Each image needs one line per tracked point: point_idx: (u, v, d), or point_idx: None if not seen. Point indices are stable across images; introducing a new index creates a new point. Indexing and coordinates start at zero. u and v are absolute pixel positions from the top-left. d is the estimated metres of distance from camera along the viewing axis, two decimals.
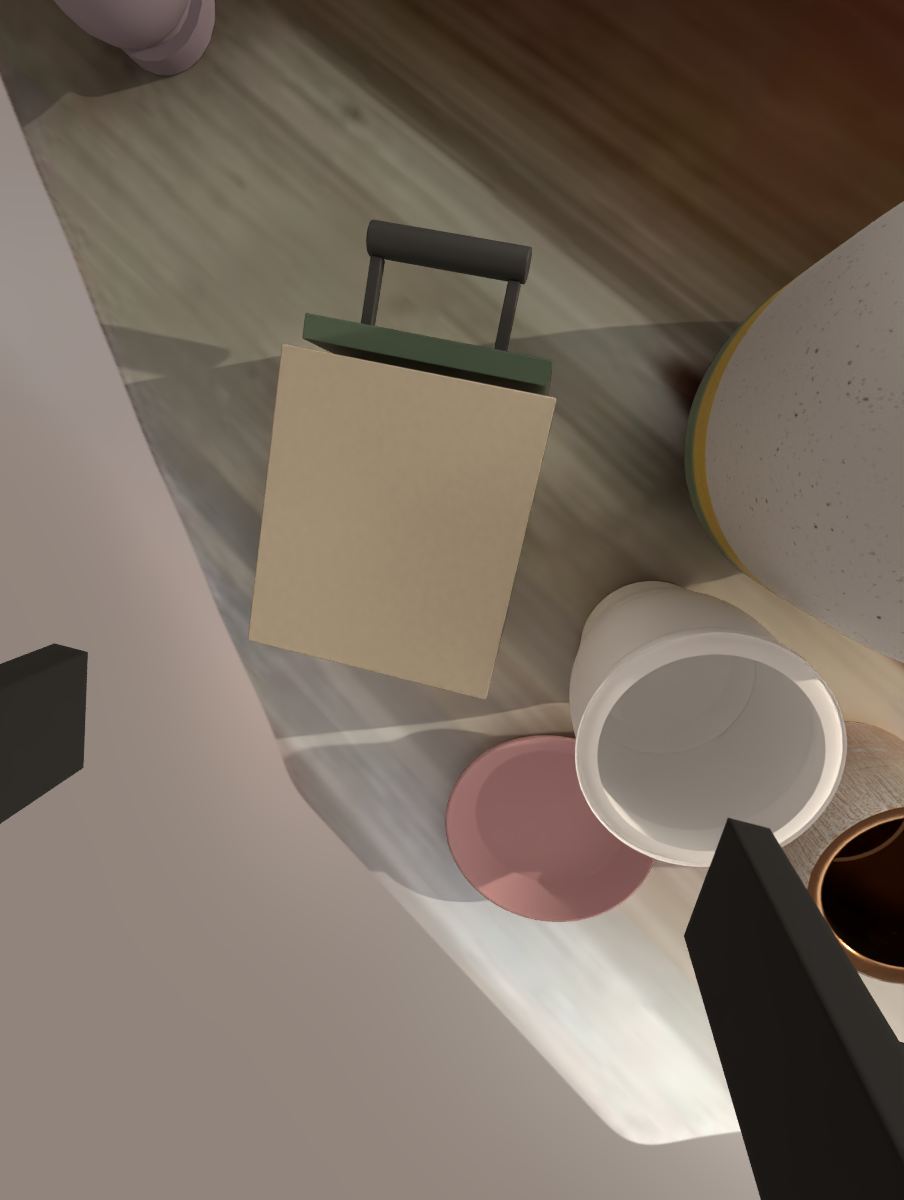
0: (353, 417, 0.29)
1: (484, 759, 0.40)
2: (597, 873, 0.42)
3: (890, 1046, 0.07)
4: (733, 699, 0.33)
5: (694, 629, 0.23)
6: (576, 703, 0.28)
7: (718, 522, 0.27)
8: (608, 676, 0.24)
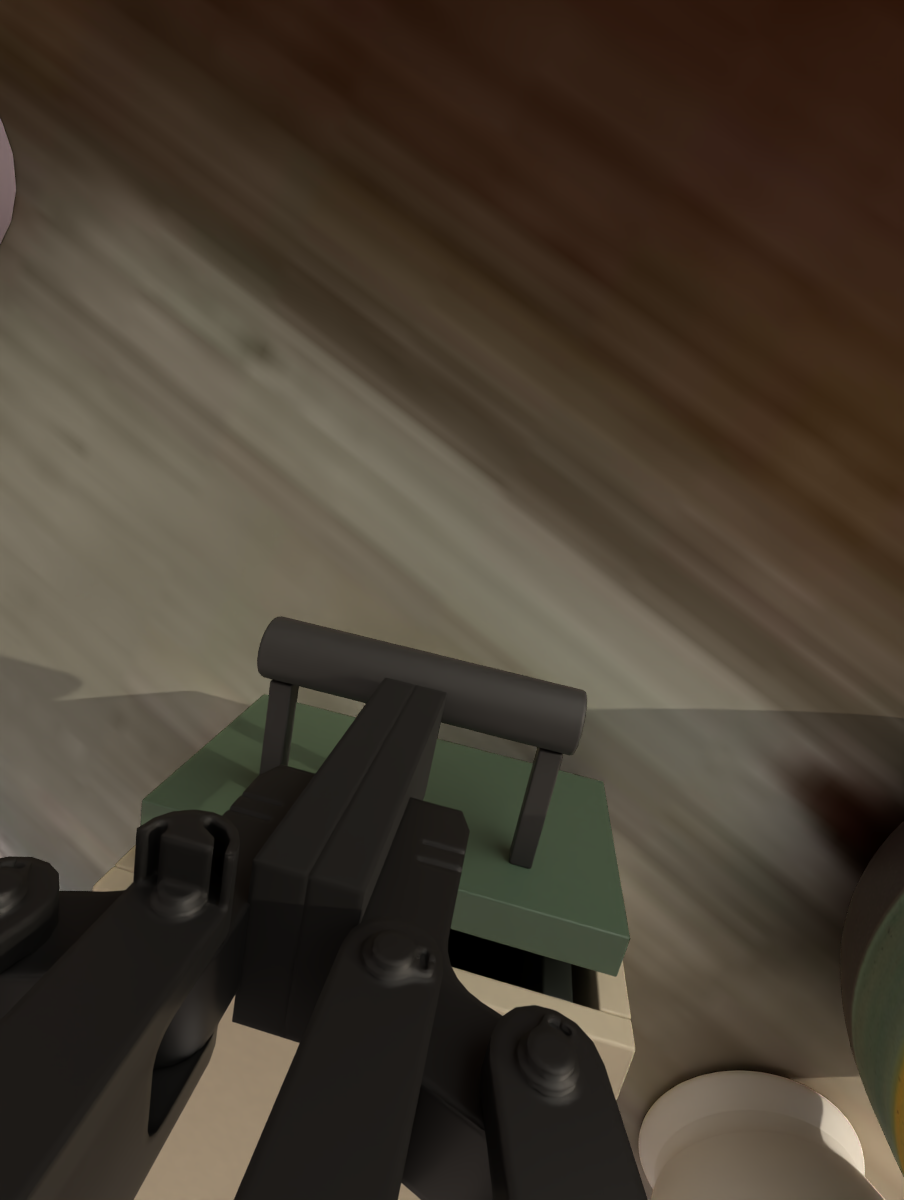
0: None
1: None
2: None
3: (396, 788, 0.10)
4: None
5: None
6: None
7: None
8: None
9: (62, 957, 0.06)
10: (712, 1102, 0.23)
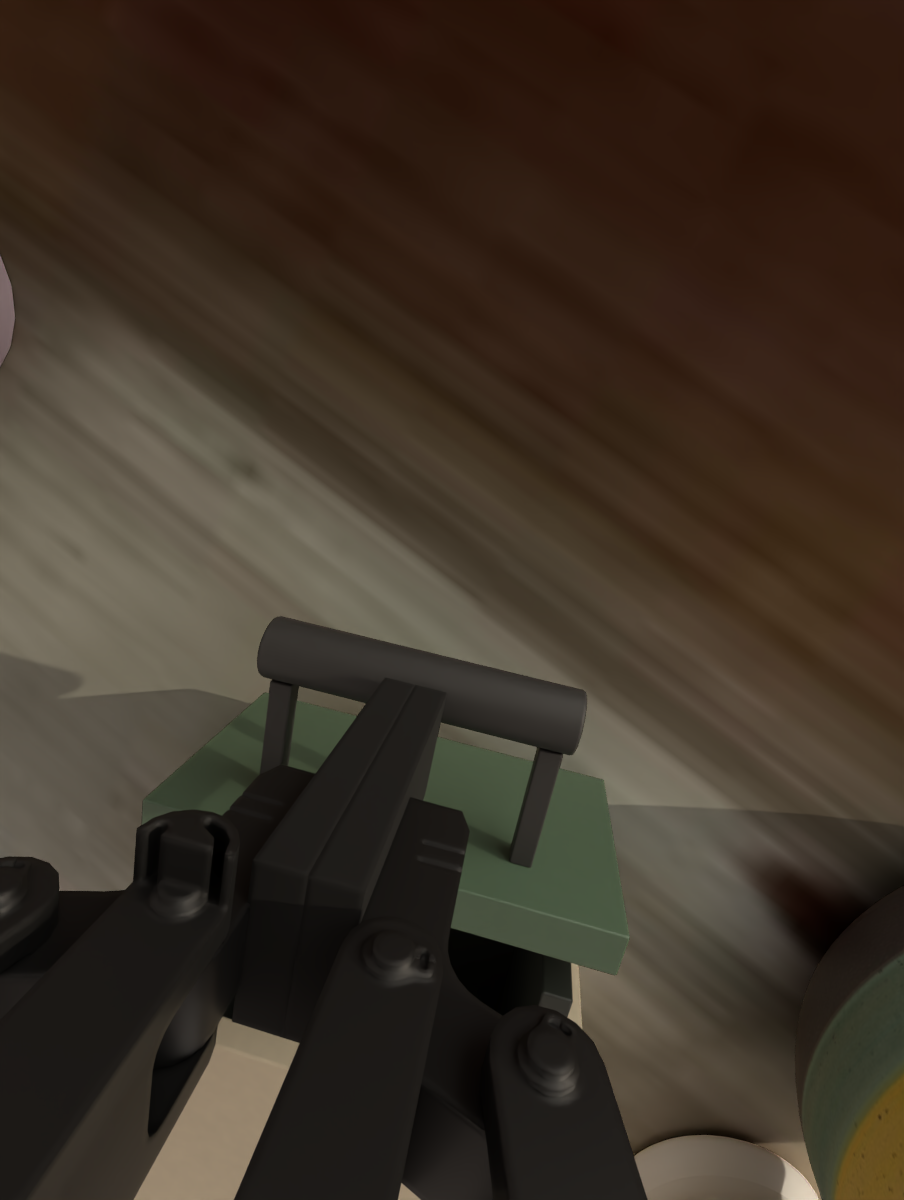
0: (223, 1122, 0.16)
1: None
2: None
3: (396, 788, 0.10)
4: None
5: None
6: None
7: None
8: None
9: (62, 957, 0.06)
10: (680, 1166, 0.24)
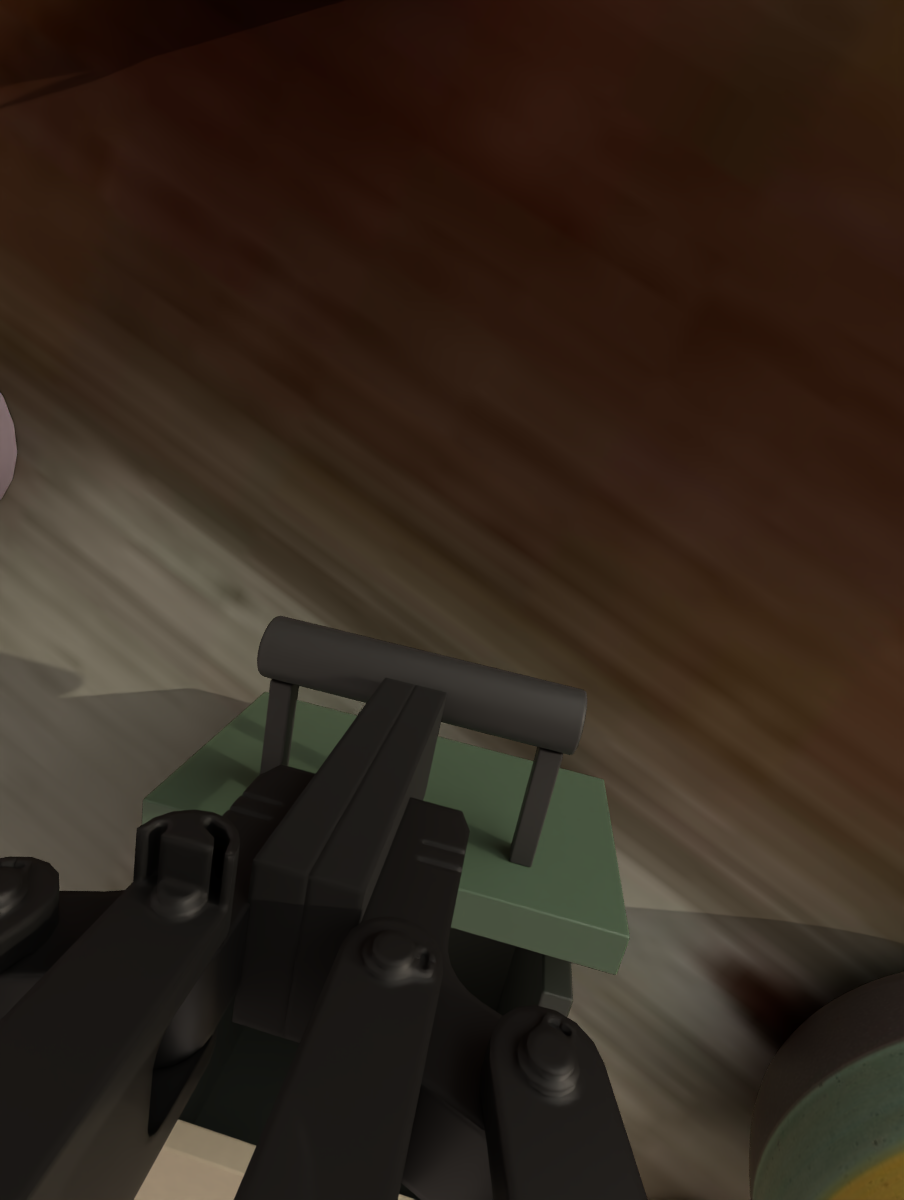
0: None
1: None
2: None
3: (396, 788, 0.10)
4: None
5: None
6: None
7: None
8: None
9: (62, 957, 0.06)
10: None
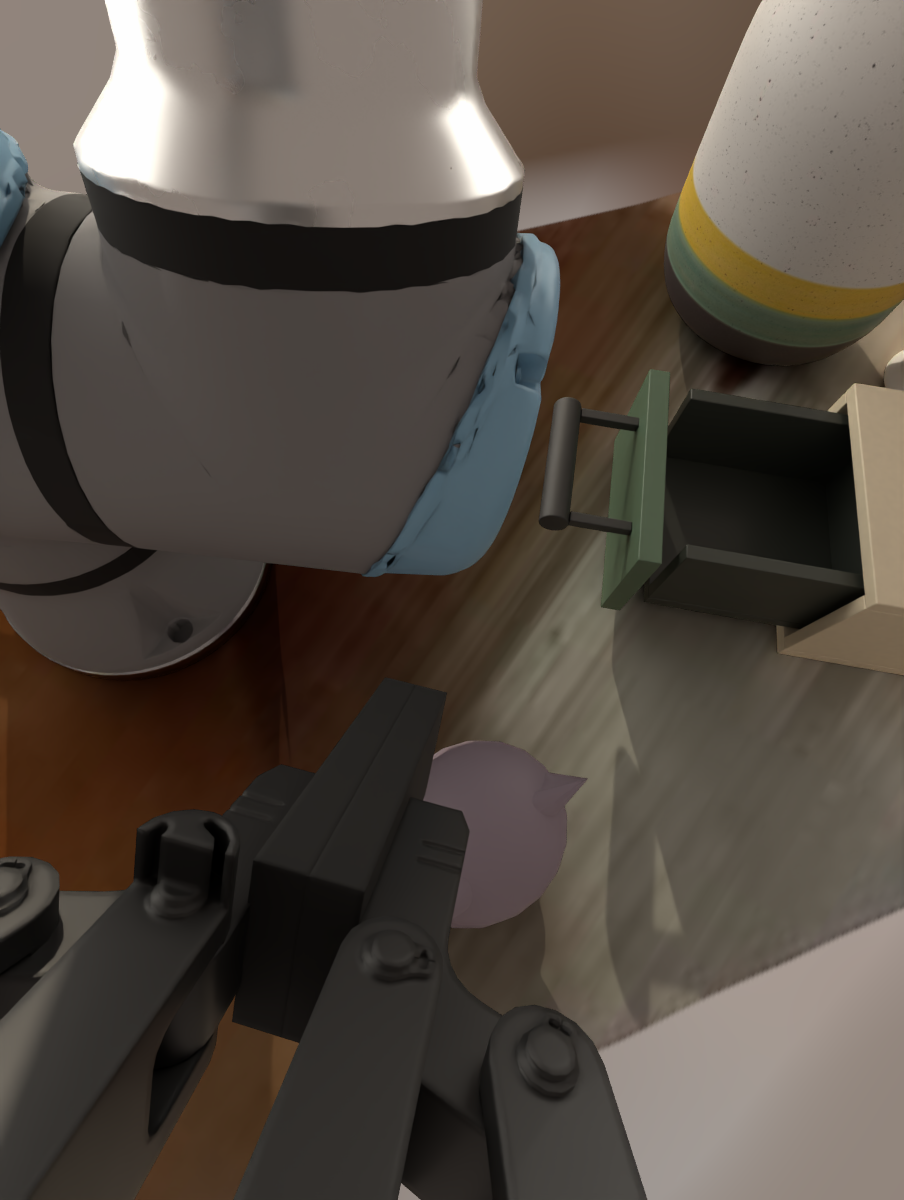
0: None
1: None
2: None
3: (396, 788, 0.10)
4: None
5: None
6: None
7: None
8: None
9: (62, 957, 0.06)
10: None
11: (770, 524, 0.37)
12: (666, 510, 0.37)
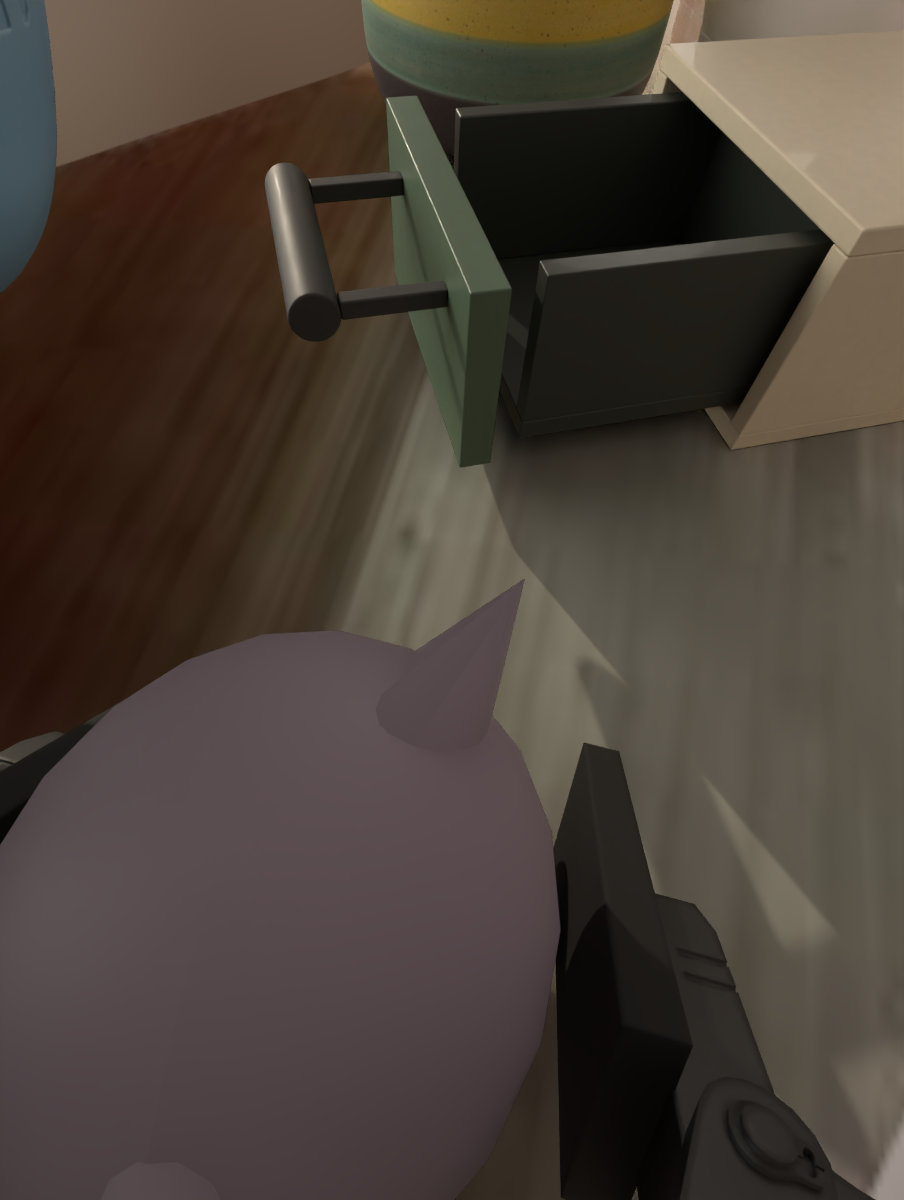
0: (864, 152, 0.19)
1: None
2: None
3: (643, 887, 0.08)
4: None
5: None
6: None
7: None
8: None
9: None
10: None
11: None
12: None
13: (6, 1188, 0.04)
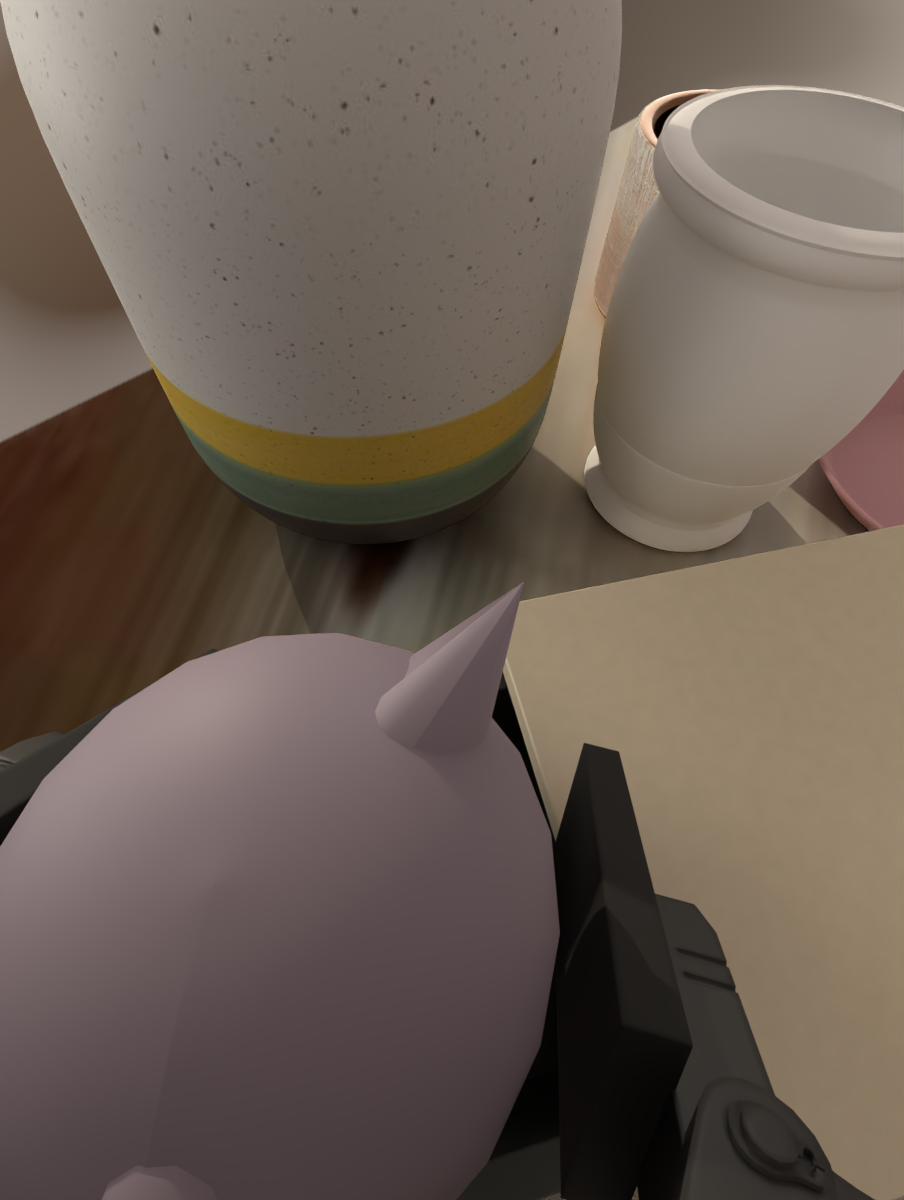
0: (733, 961, 0.13)
1: None
2: None
3: (643, 887, 0.08)
4: None
5: (711, 224, 0.16)
6: (876, 363, 0.18)
7: (533, 374, 0.21)
8: (856, 258, 0.15)
9: None
10: (637, 523, 0.28)
11: None
12: None
13: (2, 1194, 0.04)
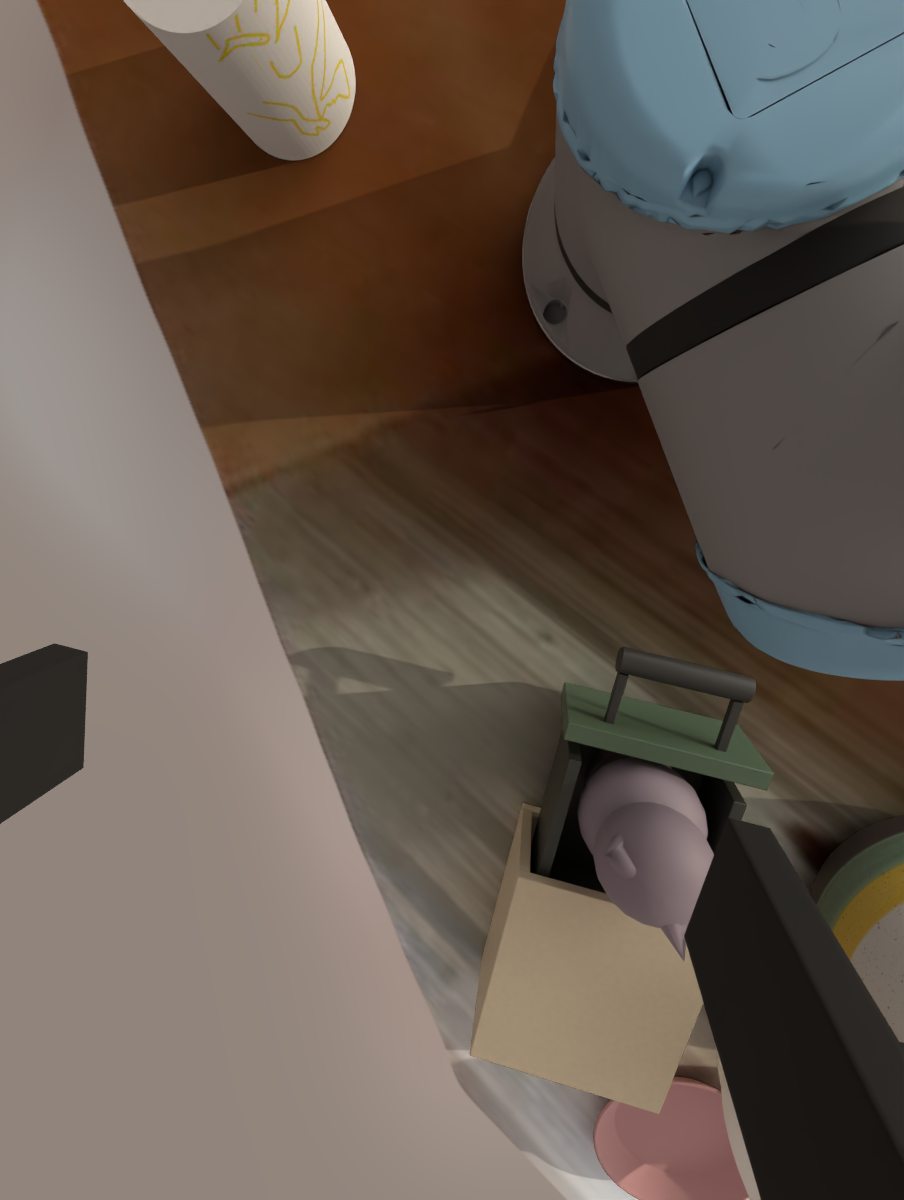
0: (570, 928, 0.39)
1: None
2: (714, 1171, 0.52)
3: (891, 1046, 0.07)
4: None
5: None
6: (743, 1158, 0.37)
7: None
8: None
9: None
10: None
11: None
12: None
13: (642, 851, 0.32)
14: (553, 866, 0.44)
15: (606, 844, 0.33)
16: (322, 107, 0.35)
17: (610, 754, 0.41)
